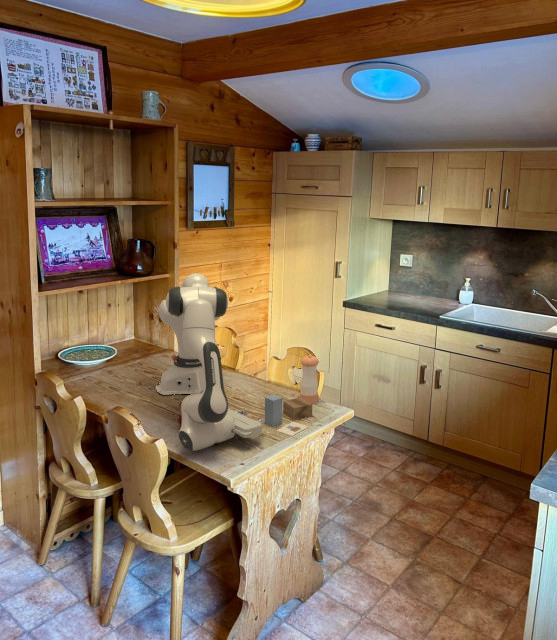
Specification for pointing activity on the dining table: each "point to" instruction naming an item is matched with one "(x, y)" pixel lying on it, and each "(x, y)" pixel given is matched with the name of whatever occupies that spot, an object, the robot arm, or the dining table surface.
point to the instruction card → (292, 428)
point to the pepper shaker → (309, 379)
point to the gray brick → (273, 410)
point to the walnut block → (297, 408)
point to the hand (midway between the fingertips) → (254, 416)
